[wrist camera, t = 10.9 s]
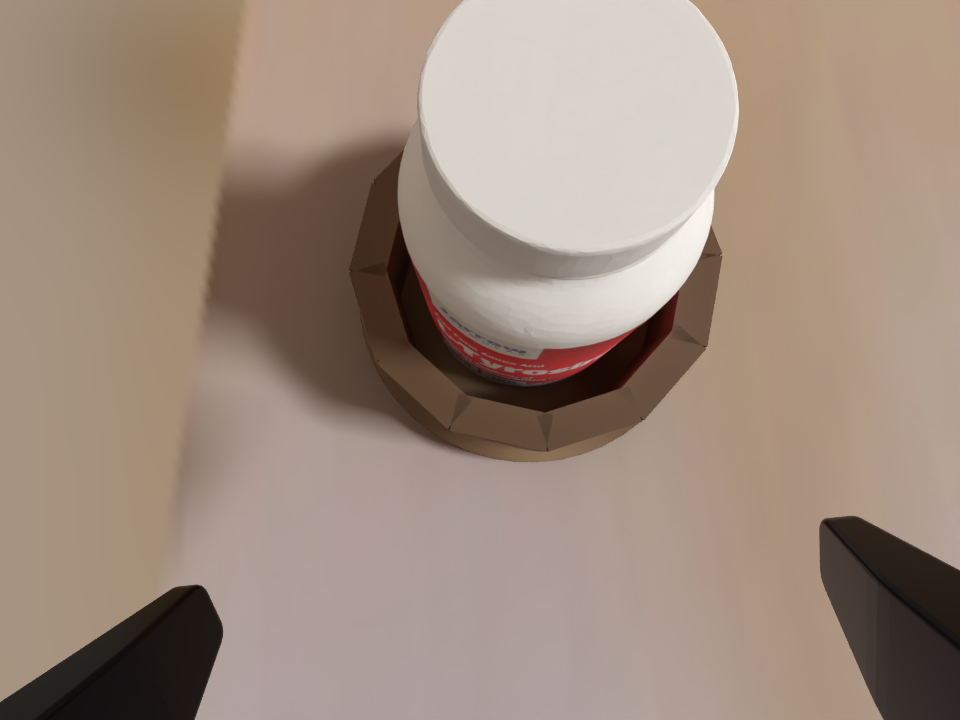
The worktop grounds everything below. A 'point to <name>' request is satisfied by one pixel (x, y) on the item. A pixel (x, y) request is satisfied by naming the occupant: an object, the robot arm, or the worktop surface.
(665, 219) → the pill bottle
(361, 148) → the worktop surface
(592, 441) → the collar stand
